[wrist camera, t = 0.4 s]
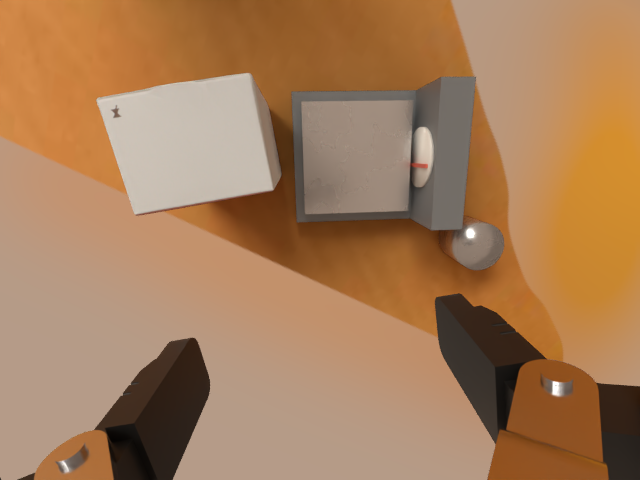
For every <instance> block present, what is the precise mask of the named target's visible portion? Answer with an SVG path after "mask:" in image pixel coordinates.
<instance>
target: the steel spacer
mask: <svg viewBox="0 0 640 480" xmlns="http://www.w3.org/2000/svg"><path fill="white" fill-rule="evenodd" d="M438 240H439V245H440V248H441V249H442V251H443V252H444V253H445V254H447V255H448V256H450V257H451V258H453V259H454V260H456V261H457V262H459V263H460V264H462V265H463V266H465V267H467V268H469V269H471V270H483V269H486V268H488V267H490V266H492V265H493V264H494V263H496V262H497V260H498V259H499V258H500V256H501V254H502V252H503V249H504V238H503V235H502V233H501V232H500V230H499V229H498V228H496V227H495V226H493V225H491V224H488V223H485V222H482V221H480V220H477V219H474V218H471V217H468V216H463V225H462V229H455V230H440V233H439V238H438Z"/></svg>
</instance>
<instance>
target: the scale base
mask: <svg viewBox="0 0 640 480" xmlns="http://www.w3.org/2000/svg"><path fill="white" fill-rule="evenodd" d="M475 81H476V77H440V78H438V79H437V80H435V81H433V82H431V83H429V84H427V85H425V86H423V87H422V88H420V89H418V90H411V91H308V92H292V114H293V140H294V165H295V190H296V215H297V222H321V221H350V220H378V219H407V218H410V219H412V220H414V221H415V222H417V223H419V224H421V225H422V226H424V227H426V228H428V229H430V230H455V229H462V225H463V214H464V203H465V192H466V181H467V170H468V159H469V148H470V137H471V126H472V115H473V104H474V93H475ZM392 100H413V117H412V138H411V159H410V180H409V202H408V211H389V212H359V213H329V214H305V204H304V174H303V143H302V113H301V102H305V101H392Z"/></svg>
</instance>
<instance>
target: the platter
mask: <svg viewBox="0 0 640 480" xmlns="http://www.w3.org/2000/svg"><path fill="white" fill-rule="evenodd" d="M301 113H302V143H303V174H304V204H305V214H329V213H359V212H389V211H408V202H409V180H410V159H411V138H412V117H413V100H392V101H305V102H301Z"/></svg>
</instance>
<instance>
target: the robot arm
mask: <svg viewBox="0 0 640 480" xmlns="http://www.w3.org/2000/svg"><path fill="white" fill-rule="evenodd" d="M435 309H436V319H437V330H438V340H439V345H440V349H441V352H442V355H443V357H444V359H445V361H446V362H447V364H448V366H449V368H450V369H451V371H452V373H453V374H454V376H455V378H456V379H457V381H458V383H459V384H460V386H461V388H462V389H463V391H464V393H465V394H466V396H467V398H468V399H469V401H470V402H471V404H472V406H473V407H474V409H475V410H476V412H477V414H478V416H479V417H480V419H481V421H482V422H483V424H484V426H485V427H486V429H487V431H488V432H489V434H490V435H491V437H492V439H493V441H494V442H495V444H496V445H495V450H494V454H493V458H492V462H491V466H490V470H489V474H488V479H487V480H640V386H626V385H625V386H624V385H611V384H600V383H596V382H595V381H594V380H593V378H592V377H591V376H589V374H587V373H586V372H584V371H583V370H581V369H579V368H577V367H575V366H573V365H571V364H567V363H565V362H561V361H556V360H548V359H546V358H545V357H544V356H543V355H542V354H541V353H540V352H539V351H538V350H536V349H535V348H534V347H533V346H532V345H531V344H530V343H529V342H528V341H527V340H526V339H524V338H523V337H522V336H521V335H520V334H519V333H518V332H516V331H515V329H514V328H513V327H511V326H510V325H509V324H507V322H506V321H505V320H504V319H503V318H502V317H501V316H499V315H498V314H497V313H496V312H494V311H492V310H489V309H487V308H485V307H483V306H476V307H473V306H472V305H471V304H470V303H469V302H468V301H467V300H466V299H465V298H464V296H463V295H461V294H453V295H447V296H441V297H436V299H435ZM209 392H210V379H209V375H208V372H207V369H206V366H205V363H204V360H203V357H202V353H201V350H200V348H199V345H198V342H197V340H196V339H195V338H188V339H182V340H177V341H171V342H169V343H168V344H167V346H166V347H165V348H164V350H163V351H162V352H161V354H160V355H159V356H158V358H157V359H155V360H153V361H152V362H151V363H150V364H149V365H147V366H146V367H145V368H143V369H142V370H141V371H140V372H139V374H138V375H137V376H136V377H135V379H134V380H133V381H132V382H131V385H129V386H128V387H127V389H126V390H125V391H124V393H123V396H120V398H119V399H118V400H117V401H116V403H115V404H114V405H113V407H112V408H111V409H110V410H109V412H108V413H107V414H106V415H105V417H104V418H103V419H102V421H101V422H100V423H99V425H98V426H97V427H96V428H95V429H94V430H93V431H88V432H84V433H82V434H79V435H77V436H75V437H73V438H71V439H69V440H68V441H66V442H65V443H63V444H61V445H60V446H59V447H57V448H56V449H55V450H54V451H52V452H51V453H50V454H49V455H48V456H47V457H46V458H45V459H44V460H43V461H42V463H41V464H40V465H39V467H38V468H37V471H36V473H33V474H31V475H28V476H26V477H23V478H21V479H18V480H173V477H174V475H175V473H176V470H177V468H178V465H179V463H180V461H181V459H182V456H183V454H184V452H185V449H186V447H187V444H188V443H189V440H190V438H191V436H192V433H193V431H194V429H195V426H196V424H197V422H198V419H199V417H200V415H201V412H202V410H203V408H204V406H205V403H206V401H207V399H208V396H209ZM0 480H1V478H0Z"/></svg>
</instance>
